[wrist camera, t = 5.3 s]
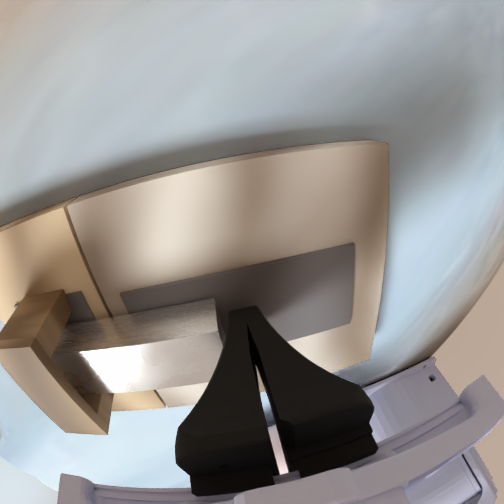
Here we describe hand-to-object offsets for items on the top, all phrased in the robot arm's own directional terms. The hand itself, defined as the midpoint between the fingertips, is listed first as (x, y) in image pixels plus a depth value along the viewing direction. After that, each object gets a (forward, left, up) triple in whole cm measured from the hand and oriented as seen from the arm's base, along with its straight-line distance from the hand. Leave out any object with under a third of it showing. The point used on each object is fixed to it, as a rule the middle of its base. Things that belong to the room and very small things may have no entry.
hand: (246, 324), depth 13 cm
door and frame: (+3, 0, -2) cm, 4 cm away
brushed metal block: (+6, 0, -1) cm, 6 cm away
